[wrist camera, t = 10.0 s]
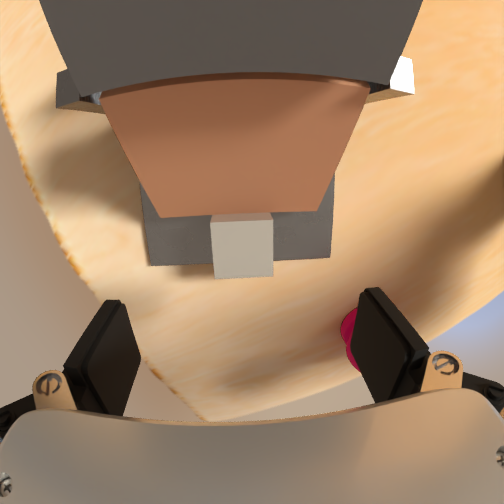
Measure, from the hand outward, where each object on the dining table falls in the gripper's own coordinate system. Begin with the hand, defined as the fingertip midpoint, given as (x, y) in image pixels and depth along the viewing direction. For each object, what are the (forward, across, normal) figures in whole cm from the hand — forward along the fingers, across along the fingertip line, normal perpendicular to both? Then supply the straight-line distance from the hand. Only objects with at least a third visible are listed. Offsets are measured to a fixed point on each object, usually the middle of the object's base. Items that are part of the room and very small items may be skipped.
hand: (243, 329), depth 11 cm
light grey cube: (+16, 0, 0) cm, 16 cm away
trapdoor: (+9, 0, -10) cm, 14 cm away
